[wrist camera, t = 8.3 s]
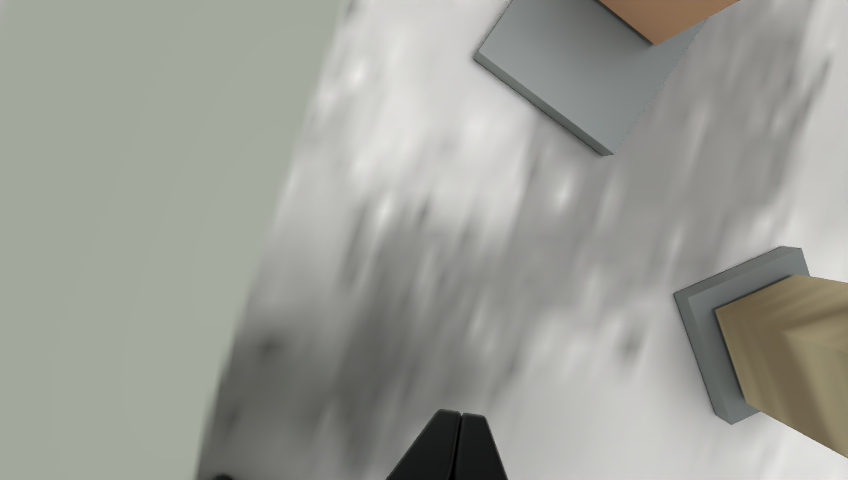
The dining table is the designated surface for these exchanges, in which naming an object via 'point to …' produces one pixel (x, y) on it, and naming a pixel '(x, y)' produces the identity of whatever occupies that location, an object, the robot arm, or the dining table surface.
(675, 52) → the terracotta key base
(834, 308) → the oak key
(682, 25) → the orange rectangular block
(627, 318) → the dining table surface
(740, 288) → the oak key base
